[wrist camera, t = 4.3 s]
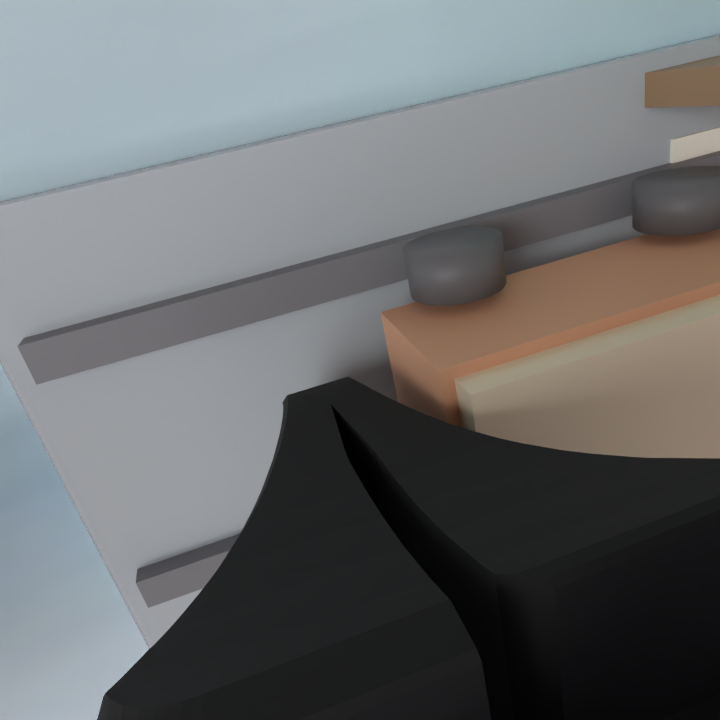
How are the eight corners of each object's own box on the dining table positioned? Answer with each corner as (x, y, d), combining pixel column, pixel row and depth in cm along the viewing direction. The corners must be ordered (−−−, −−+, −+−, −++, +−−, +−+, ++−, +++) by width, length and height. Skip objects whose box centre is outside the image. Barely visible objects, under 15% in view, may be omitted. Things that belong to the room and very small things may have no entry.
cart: (362, 251, 10) (443, 312, 7) (709, 157, 11) (914, 171, 8) (417, 520, 12) (493, 654, 9) (693, 420, 14) (844, 511, 10)
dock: (-49, 213, 9) (-140, 250, 7) (966, -23, 13) (1168, -61, 10) (161, 632, 14) (154, 755, 11) (882, 369, 17) (1009, 415, 15)
